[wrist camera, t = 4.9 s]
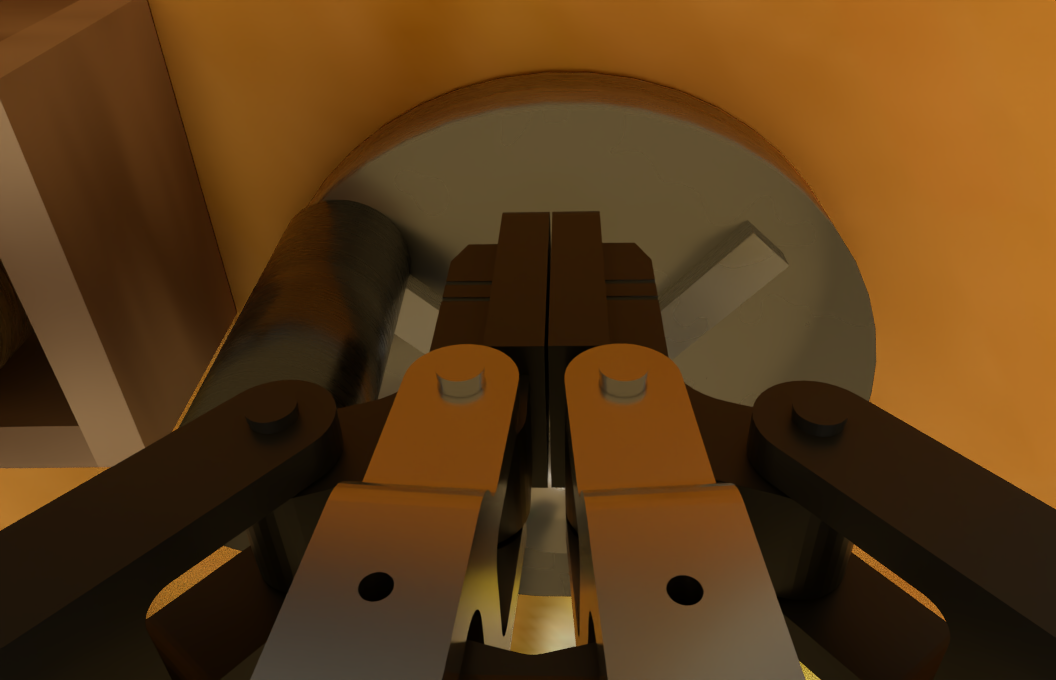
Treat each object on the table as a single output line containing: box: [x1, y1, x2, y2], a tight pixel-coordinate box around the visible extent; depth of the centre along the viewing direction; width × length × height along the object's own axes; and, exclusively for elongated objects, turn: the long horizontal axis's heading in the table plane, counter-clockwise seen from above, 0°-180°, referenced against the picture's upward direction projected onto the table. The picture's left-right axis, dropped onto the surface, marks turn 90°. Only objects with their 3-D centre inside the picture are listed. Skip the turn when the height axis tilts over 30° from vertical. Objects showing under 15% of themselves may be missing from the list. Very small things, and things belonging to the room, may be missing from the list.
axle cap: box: [526, 426, 567, 553], centre depth 16 cm, size 3×3×2 cm
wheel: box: [178, 72, 876, 596], centre depth 16 cm, size 13×13×8 cm
